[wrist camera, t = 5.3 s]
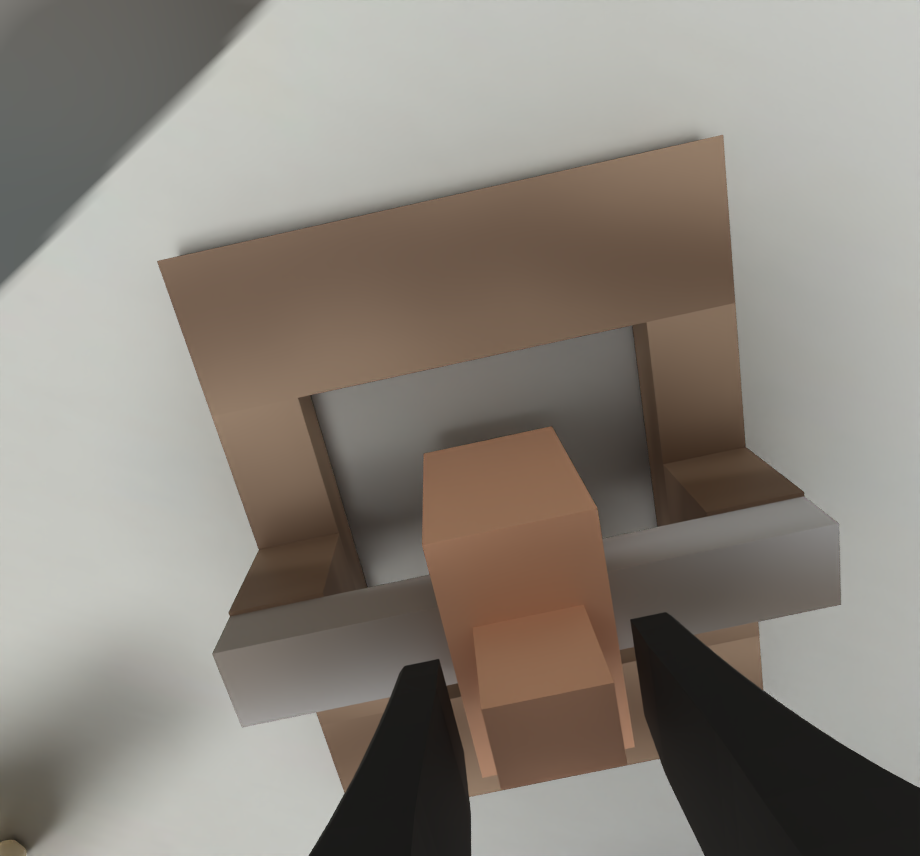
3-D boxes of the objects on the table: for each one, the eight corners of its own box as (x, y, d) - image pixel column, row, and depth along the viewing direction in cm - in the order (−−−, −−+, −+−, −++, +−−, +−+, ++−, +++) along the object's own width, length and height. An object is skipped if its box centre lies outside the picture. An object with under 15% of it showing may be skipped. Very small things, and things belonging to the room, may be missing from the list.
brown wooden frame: (747, 706, 20) (846, 864, 15) (358, 785, 20) (337, 963, 15) (699, 140, 15) (828, 110, 10) (177, 256, 15) (62, 281, 10)
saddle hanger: (584, 615, 17) (671, 841, 11) (469, 638, 17) (492, 877, 11) (551, 426, 15) (632, 571, 9) (423, 453, 15) (421, 615, 9)
